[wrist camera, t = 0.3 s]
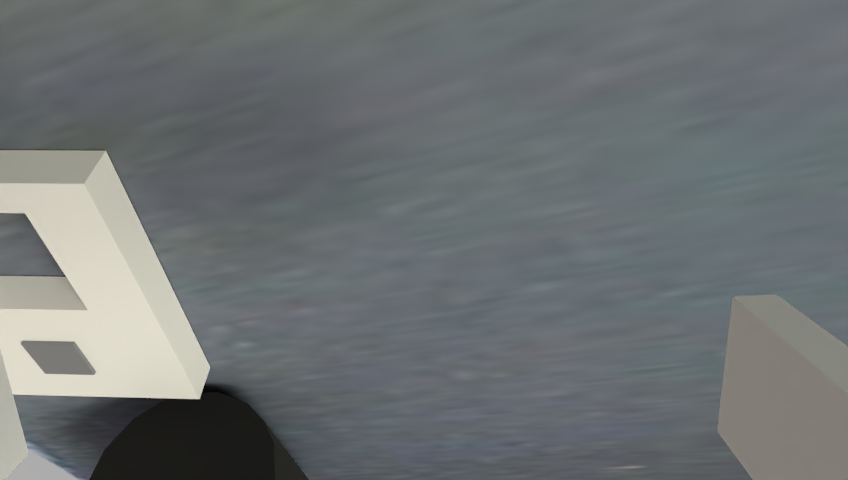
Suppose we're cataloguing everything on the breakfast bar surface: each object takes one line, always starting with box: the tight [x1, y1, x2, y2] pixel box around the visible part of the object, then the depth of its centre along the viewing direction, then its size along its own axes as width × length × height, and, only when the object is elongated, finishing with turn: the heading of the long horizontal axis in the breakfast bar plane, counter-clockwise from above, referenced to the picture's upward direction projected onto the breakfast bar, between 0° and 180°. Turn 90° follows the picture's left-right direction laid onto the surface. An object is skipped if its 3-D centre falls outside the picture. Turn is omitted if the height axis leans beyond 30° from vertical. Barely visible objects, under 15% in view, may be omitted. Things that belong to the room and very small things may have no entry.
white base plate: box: [0, 150, 210, 399], centre depth 29 cm, size 15×12×2 cm
